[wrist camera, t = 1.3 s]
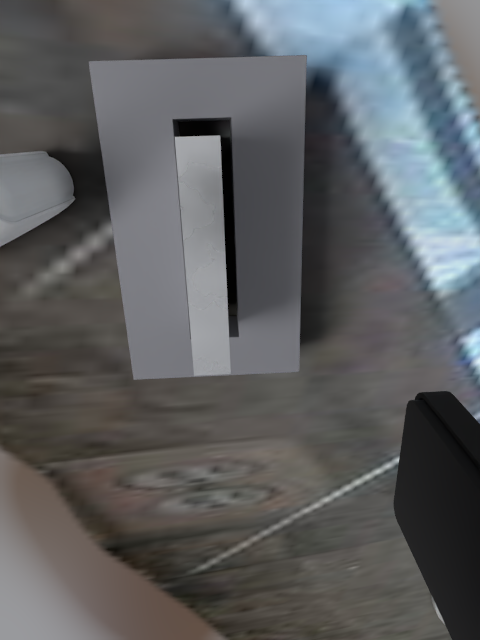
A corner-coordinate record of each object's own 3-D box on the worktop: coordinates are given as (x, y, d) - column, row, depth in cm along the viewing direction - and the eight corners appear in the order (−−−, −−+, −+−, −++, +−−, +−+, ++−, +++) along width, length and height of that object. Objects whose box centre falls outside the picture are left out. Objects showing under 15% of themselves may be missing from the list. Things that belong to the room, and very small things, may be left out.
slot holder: (295, 66, 28) (306, 55, 24) (290, 347, 36) (299, 371, 32) (106, 71, 28) (88, 61, 24) (142, 354, 35) (133, 379, 32)
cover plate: (220, 136, 29) (220, 135, 19) (227, 303, 34) (230, 374, 24) (190, 137, 29) (174, 137, 19) (201, 305, 34) (193, 375, 24)
